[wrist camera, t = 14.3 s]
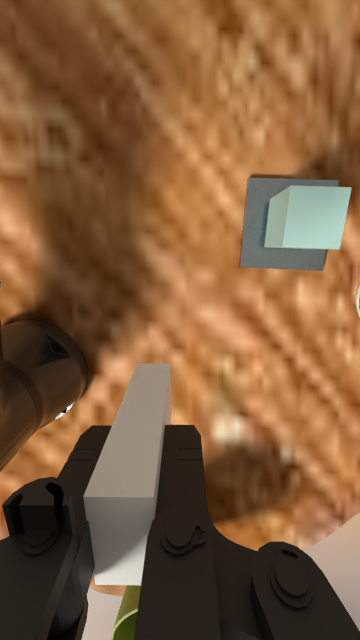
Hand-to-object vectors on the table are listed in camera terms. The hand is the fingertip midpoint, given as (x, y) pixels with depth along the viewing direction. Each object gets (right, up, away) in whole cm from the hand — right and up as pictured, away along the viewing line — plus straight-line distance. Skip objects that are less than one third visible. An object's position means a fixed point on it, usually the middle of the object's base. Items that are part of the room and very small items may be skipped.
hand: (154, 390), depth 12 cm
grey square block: (+14, +15, +19) cm, 28 cm away
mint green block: (+14, +14, +18) cm, 27 cm away
